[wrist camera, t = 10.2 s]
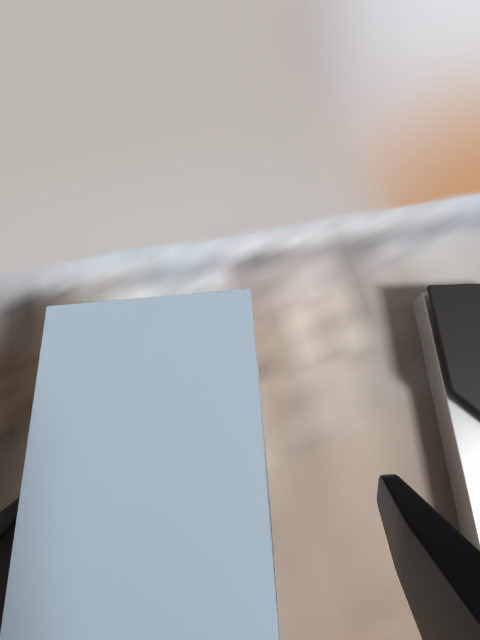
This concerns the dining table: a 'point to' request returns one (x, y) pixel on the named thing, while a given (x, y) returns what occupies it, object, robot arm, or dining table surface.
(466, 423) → the picture frame
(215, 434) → the light blue tall bar
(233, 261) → the dining table surface
